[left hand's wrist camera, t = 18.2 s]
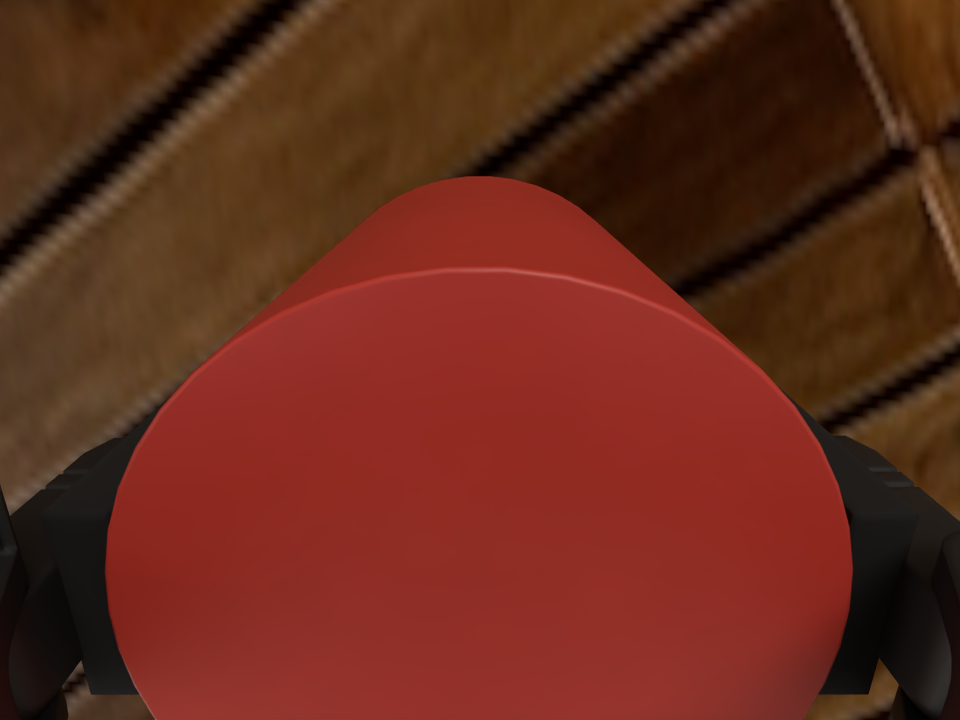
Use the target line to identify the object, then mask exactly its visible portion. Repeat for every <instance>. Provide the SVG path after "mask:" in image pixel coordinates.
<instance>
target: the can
mask: <svg viewBox="0 0 960 720" xmlns="http://www.w3.org/2000/svg"><path fill="white" fill-rule="evenodd" d="M852 574H853V565H852V553H851V541H850V529H849V524H848V520H847V516H846V512H845V508H844V504H843V500H842V497H841V493H840V489H839V485H838V483H837V480H836V478H835V476H834V474H833V471H832V469H831V467H830V465H829V462H828V460H827V458H826V456H825V453H824V451H823V449H822V447H821V444H820V443H819V441H818V440H817V438H816V437H815V435H814V434H813V432H812V431H811V429H810V428H809V426H808V425H807V423H806V422H805V420H804V419H803V417H802V416H801V414H800V413H799V411H798V410H797V408H796V407H795V405H794V404H793V403H792V402H791V401H790V400H789V399H788V398H787V396H786V395H785V394H784V393H783V392H782V391H781V390H780V389H779V388H778V387H777V386H776V384H775V383H774V382H773V381H772V380H771V379H770V378H769V377H768V376H767V375H766V374H765V373H764V371H763V370H762V369H761V368H760V367H758V366H757V365H756V364H755V363H754V362H753V361H752V360H751V359H749V358H748V357H747V356H746V355H745V354H744V353H743V352H742V351H740V350H739V349H738V348H737V347H736V346H735V345H734V344H733V343H731V342H730V341H729V340H728V339H727V338H726V337H725V336H724V335H723V334H721V333H720V332H719V331H718V330H717V329H716V328H715V327H714V326H712V325H711V324H710V323H709V322H708V321H707V320H706V319H705V318H703V317H702V316H701V315H700V314H699V313H698V312H697V311H696V310H695V309H693V308H692V307H691V306H690V305H689V304H688V303H687V302H686V301H684V300H683V299H682V298H681V297H680V296H679V295H678V294H677V293H675V292H674V291H673V290H672V289H671V288H670V287H669V286H668V285H666V284H665V283H664V282H663V281H662V280H661V279H660V278H659V277H658V276H656V275H655V274H654V273H653V272H652V271H651V270H650V269H649V268H647V267H646V266H645V265H644V264H643V263H642V262H641V261H640V260H638V259H637V258H636V257H635V256H634V255H633V254H632V253H631V252H629V251H628V250H627V249H626V248H625V247H624V246H623V245H622V244H621V243H619V242H618V241H617V240H616V239H615V238H614V237H613V236H612V235H610V234H609V233H608V232H607V231H606V230H605V229H604V228H603V227H601V226H600V225H599V224H598V223H597V222H596V221H595V220H593V219H592V218H591V217H590V216H589V215H587V214H586V213H585V212H584V211H582V210H581V209H580V208H579V207H577V206H576V205H574V204H572V203H571V202H569V201H567V200H566V199H564V198H562V197H561V196H559V195H557V194H555V193H552V192H550V191H548V190H545V189H543V188H541V187H538V186H536V185H532V184H529V183H525V182H521V181H518V180H514V179H506V178H499V177H491V176H470V177H460V178H453V179H446V180H441V181H438V182H434V183H431V184H427V185H423V186H420V187H418V188H416V189H413V190H411V191H409V192H407V193H404V194H402V195H400V196H398V197H396V198H395V199H393V200H392V201H390V202H388V203H387V204H385V205H383V206H382V207H380V208H379V209H378V210H377V211H375V212H374V213H373V214H372V215H370V216H369V217H368V218H367V219H366V220H364V221H363V222H362V223H361V224H360V225H359V226H357V227H356V228H355V229H354V230H353V231H352V232H351V233H350V234H348V235H347V236H346V237H345V238H344V239H343V240H342V241H341V242H339V243H338V244H337V245H336V246H335V247H334V248H333V249H331V250H330V251H329V252H328V253H327V254H326V255H325V256H324V257H322V258H321V259H320V260H319V261H318V262H317V263H316V264H315V265H313V266H312V267H311V268H310V269H309V270H308V271H307V272H305V273H304V274H303V275H302V276H301V277H300V278H299V279H298V280H296V281H295V282H294V283H293V284H292V285H291V286H290V287H289V288H287V289H286V290H285V291H284V292H283V293H282V294H281V295H279V296H278V297H277V298H276V299H275V300H274V301H273V302H272V303H270V304H269V305H268V306H267V307H266V308H265V309H264V310H263V311H261V312H260V313H259V314H258V315H257V316H256V317H255V318H253V319H252V320H251V321H250V322H249V323H248V324H247V325H246V326H244V327H243V328H242V329H241V330H240V331H239V332H238V333H236V334H235V335H234V336H233V337H232V338H231V339H230V340H229V341H227V342H226V343H225V344H224V345H223V346H222V347H221V348H220V349H218V350H217V351H216V352H215V353H214V354H213V355H212V356H210V357H209V358H208V359H207V360H206V361H205V362H204V363H203V364H201V365H200V366H199V367H198V368H197V369H196V370H195V371H194V372H193V373H192V374H191V375H190V376H189V377H188V378H187V379H186V380H185V381H184V383H183V384H182V385H181V386H180V387H179V388H178V389H177V390H176V392H175V393H174V394H173V395H172V396H171V397H170V398H169V399H168V400H167V402H166V403H165V404H164V405H163V406H162V407H161V408H160V410H159V411H158V413H157V415H156V416H155V418H154V419H153V421H152V422H151V424H150V425H149V427H148V429H147V430H146V432H145V433H144V435H143V436H142V438H141V439H140V441H139V442H138V444H137V446H136V447H135V450H134V452H133V454H132V456H131V459H130V461H129V463H128V466H127V468H126V470H125V473H124V475H123V477H122V480H121V482H120V484H119V487H118V490H117V494H116V498H115V502H114V507H113V511H112V515H111V519H110V523H109V527H108V534H107V548H106V563H105V579H106V589H107V600H108V610H109V615H110V619H111V622H112V626H113V630H114V634H115V638H116V642H117V645H118V649H119V652H120V654H121V656H122V658H123V661H124V663H125V665H126V668H127V670H128V672H129V675H130V677H131V679H132V682H133V684H134V686H135V687H136V689H137V691H138V692H139V694H140V696H141V697H142V699H143V701H144V702H145V704H146V705H147V707H148V709H149V710H150V712H151V714H152V715H153V717H154V718H155V720H802V719H803V718H804V717H805V715H806V714H807V712H808V710H809V709H810V707H811V705H812V704H813V702H814V700H815V699H816V697H817V695H818V694H819V692H820V690H821V689H822V687H823V685H824V684H825V682H826V679H827V677H828V675H829V672H830V670H831V667H832V665H833V663H834V660H835V658H836V655H837V653H838V651H839V648H840V645H841V641H842V637H843V633H844V629H845V625H846V621H847V617H848V613H849V609H850V597H851V586H852Z"/></svg>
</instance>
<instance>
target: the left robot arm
mask: <svg viewBox="0 0 960 720" xmlns="http://www.w3.org/2000/svg"><path fill="white" fill-rule="evenodd" d="M776 386H777V385H776ZM777 387H778V386H777ZM778 388H779V387H778ZM779 389H780V388H779ZM780 390H781V389H780ZM781 391H782V390H781ZM782 392H783V391H782ZM783 393H784V394H785V395H786V396H787V398H788V399H789V400H790V401H791V402H792V403H793V404H794V405H795V407H796V408H797V410H798V411H799V413H800V414H801V416H802V417H803V419H804V420H805V422H806V423H807V425H808V426H809V428H810V429H811V431H812V432H813V434H814V435H815V437H816V438H817V440H818V441H819V443H820V444H821V447H822V449H823V451H824V453H825V456H826V458H827V460H828V462H829V465H830V467H831V469H832V471H833V474H834V476H835V478H836V480H837V483H838V485H839V489H840V493H841V497H842V500H843V504H844V508H845V512H846V516H847V520H848V524H849V529H850V541H851V553H852V565H853V574H852V586H851V597H850V609H849V613H848V617H847V621H846V625H845V629H844V633H843V637H842V641H841V645H840V648H839V651H838V653H837V655H836V658H835V660H834V663H833V665H832V667H831V670H830V672H829V675H828V677H827V679H826V682H825V684H824V685H823V687H822V689H821V690H820V692H819V694H869V690H870V687H871V683H872V680H873V676H874V673H875V669H876V666H877V662H878V659H879V658H880V659H881V661H882V662H883V663H884V665H885V666H886V667H887V669H888V670H889V671H890V673H891V674H892V676H893V677H894V678H895V680H896V681H897V682H898V684H899V686H898V689H897V692H896V696H895V699H894V702H893V706H892V709H891V712H890V715H889V719H888V720H960V521H958V520H957V519H956V518H955V517H954V516H952V515H951V514H950V513H949V512H948V511H946V510H945V509H944V508H943V507H942V506H941V505H939V504H938V503H937V502H936V501H935V500H933V499H932V498H931V497H930V496H929V495H928V494H926V493H925V492H924V491H923V490H922V489H920V488H919V487H914V483H913V482H912V481H911V480H910V479H909V478H907V477H906V476H905V475H904V474H903V473H901V472H897V468H895V467H894V466H893V465H892V464H891V463H890V462H888V461H887V460H886V459H885V458H884V457H882V456H881V455H880V454H879V453H878V452H877V451H875V450H873V449H871V448H869V447H867V446H865V445H863V444H861V443H859V442H857V441H855V440H853V439H851V438H849V437H847V436H832V435H831V434H830V433H829V432H828V431H827V430H825V429H824V428H823V427H822V426H821V425H820V424H819V423H818V422H817V421H816V420H814V419H813V418H812V417H811V416H810V415H809V414H808V413H807V412H806V411H804V410H803V409H802V408H801V407H800V406H799V405H798V404H797V403H796V402H794V401H793V400H792V399H791V398H790V397H789V396H788V395H787V394H786V393H785V392H783ZM169 398H170V397H169ZM169 398H168V399H169ZM168 399H167V400H168ZM167 400H166V401H165V402H164V403H163V404H162V405H161V406H160V407H158V408H157V409H156V410H155V411H154V412H153V413H152V414H151V415H150V416H148V417H147V418H146V419H145V420H144V421H143V422H142V423H141V424H140V425H138V426H137V427H136V428H135V429H134V430H133V431H132V432H131V433H130V434H129V435H127V436H126V437H125V438H114V439H112V440H110V441H108V442H106V443H104V444H102V445H100V446H98V447H96V448H94V449H92V450H90V451H88V452H86V453H84V454H83V455H82V456H80V457H79V458H78V459H77V460H76V461H75V462H73V463H72V464H71V465H70V466H69V467H67V468H66V469H65V470H64V471H63V472H64V473H63V474H59V475H58V476H57V477H56V478H55V479H53V480H52V481H51V482H50V483H49V484H47V485H46V490H40V491H39V492H38V493H37V494H36V495H35V496H33V497H32V498H31V499H30V500H29V501H27V502H26V503H25V504H24V505H23V506H22V507H20V508H19V509H18V510H17V511H16V512H15V513H13V514H12V515H11V516H9V512H8V509H7V506H6V503H5V499H4V496H3V493H2V489H1V486H0V720H68V710H67V703H66V699H65V696H64V692H63V689H62V685H63V684H64V683H65V681H66V680H67V679H68V677H69V676H70V674H71V673H72V672H73V670H74V669H75V668H76V666H77V665H78V664H79V662H80V661H82V664H83V668H84V671H85V675H86V678H87V682H88V685H89V689H90V692H91V694H139V692H138V691H137V689H136V687H135V686H134V684H133V682H132V679H131V677H130V675H129V672H128V670H127V668H126V665H125V663H124V661H123V658H122V656H121V654H120V652H119V649H118V645H117V642H116V638H115V634H114V630H113V626H112V622H111V619H110V615H109V610H108V600H107V589H106V579H105V563H106V548H107V534H108V527H109V523H110V519H111V515H112V511H113V507H114V502H115V498H116V494H117V490H118V487H119V484H120V482H121V480H122V477H123V475H124V473H125V470H126V468H127V466H128V463H129V461H130V459H131V456H132V454H133V452H134V450H135V447H136V446H137V444H138V442H139V441H140V439H141V438H142V436H143V435H144V433H145V432H146V430H147V429H148V427H149V425H150V424H151V422H152V421H153V419H154V418H155V416H156V415H157V413H158V411H159V410H160V408H161V407H162V406H163V405H164V404H165V403H166V402H167Z"/></svg>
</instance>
